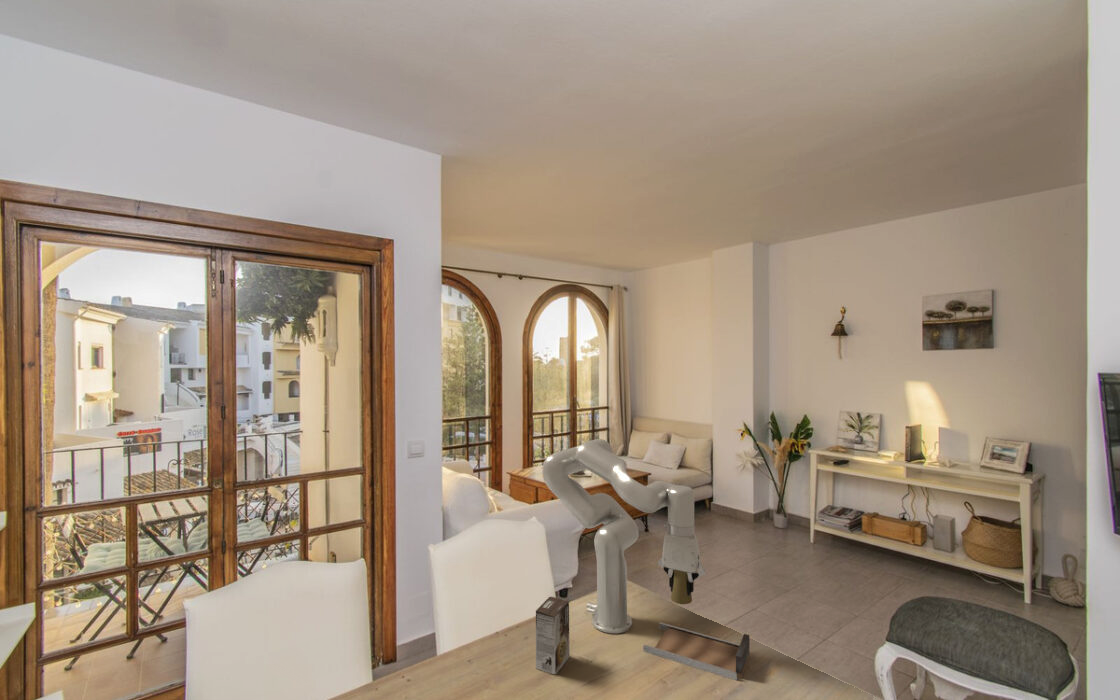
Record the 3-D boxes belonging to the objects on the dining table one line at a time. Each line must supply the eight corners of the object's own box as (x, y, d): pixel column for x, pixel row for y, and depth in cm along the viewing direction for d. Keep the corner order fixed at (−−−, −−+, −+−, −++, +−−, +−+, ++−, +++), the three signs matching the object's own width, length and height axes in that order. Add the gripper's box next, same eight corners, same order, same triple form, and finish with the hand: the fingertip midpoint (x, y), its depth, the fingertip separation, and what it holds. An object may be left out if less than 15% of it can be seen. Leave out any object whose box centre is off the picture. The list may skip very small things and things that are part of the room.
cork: (692, 605, 144) (692, 566, 144) (671, 603, 146) (670, 565, 146) (691, 595, 150) (691, 558, 150) (670, 593, 151) (670, 556, 151)
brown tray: (654, 651, 146) (654, 632, 146) (667, 631, 156) (667, 613, 156) (741, 678, 134) (741, 657, 134) (749, 654, 144) (749, 635, 144)
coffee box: (550, 651, 146) (549, 595, 146) (570, 657, 143) (570, 600, 143) (534, 669, 138) (534, 610, 138) (555, 675, 135) (555, 615, 135)
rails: (643, 651, 146) (643, 645, 146) (659, 627, 159) (659, 622, 159) (736, 680, 133) (736, 674, 133) (746, 651, 146) (746, 646, 146)
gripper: (649, 528, 149) (649, 590, 149) (706, 538, 141) (707, 604, 140) (657, 520, 155) (658, 580, 155) (713, 530, 147) (713, 593, 147)
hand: (681, 591), depth 148 cm, fingers closed on cork, 4 cm apart
